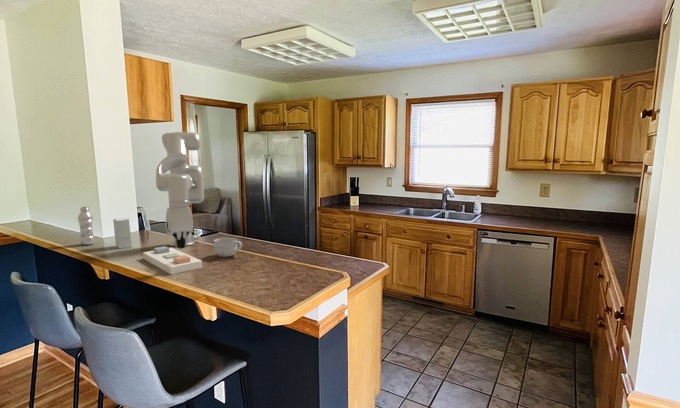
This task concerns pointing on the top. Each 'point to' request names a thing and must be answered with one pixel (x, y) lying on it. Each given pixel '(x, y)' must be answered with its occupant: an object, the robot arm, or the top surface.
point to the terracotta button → (181, 259)
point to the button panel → (169, 264)
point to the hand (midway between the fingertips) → (181, 247)
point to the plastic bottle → (86, 226)
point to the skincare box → (122, 233)
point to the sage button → (170, 255)
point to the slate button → (161, 250)
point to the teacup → (226, 246)
